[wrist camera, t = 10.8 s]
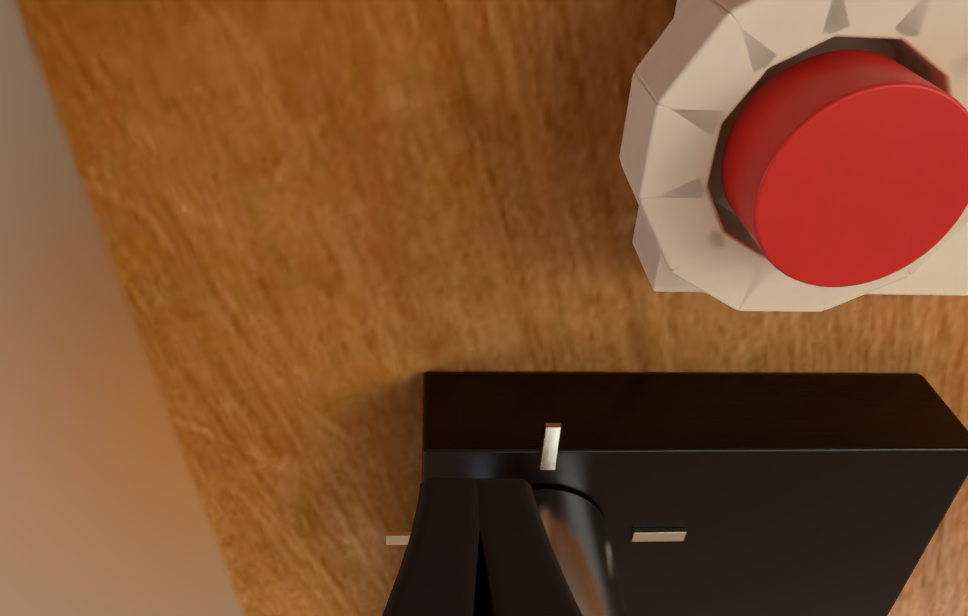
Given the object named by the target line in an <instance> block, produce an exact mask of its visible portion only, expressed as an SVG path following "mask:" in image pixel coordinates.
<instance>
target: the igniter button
mask: <svg viewBox="0 0 968 616" xmlns="http://www.w3.org/2000/svg"><path fill="white" fill-rule="evenodd" d="M721 174H722V183H723V188H724V192H725V195H726V198H727V200H728V202H729V204H730V206H731V208H732V209H733V211H734V212H735V214H736V215H737V217H738V218H739V220H740V221H741V222H742V224H743V225H744V227H745V228H746V230H747V231H748V232H749V234H750V235H751V237H752V238H753V240H754V241H755V242H756V244H757V245H758V247H759V248H760V250H761V251H762V252H763V254H764V255H765V257H766V258H767V260H768V261H769V262H770V263H771V264H772V265H773V266H774V267H775V268H776V269H778V270H779V271H780V272H782V273H783V274H785V275H787V276H788V277H790V278H792V279H794V280H797V281H800V282H803V283H806V284H810V285H815V286H820V287H848V286H854V285H860V284H864V283H868V282H872V281H875V280H878V279H880V278H883V277H886V276H888V275H890V274H892V273H895V272H897V271H899V270H901V269H902V268H904V267H906V266H908V265H909V264H911V263H913V262H914V261H916V260H917V259H918V258H920V257H921V256H923V255H924V254H925V253H927V252H928V251H929V250H930V249H931V248H933V247H934V246H935V245H936V244H937V243H938V242H939V241H940V240H941V239H942V238H943V237H944V236H945V235H946V234H947V233H948V232H949V231H950V229H951V228H952V227H953V226H954V224H955V223H956V222H957V221H958V219H959V218H960V216H961V214H962V213H963V211H964V210H965V208H966V206H967V204H968V111H967V110H966V108H965V107H964V106H963V105H962V104H961V103H960V102H959V101H958V100H957V99H955V98H954V97H952V96H951V95H949V94H948V93H946V92H945V91H943V90H942V89H940V88H938V87H937V86H935V85H933V84H932V83H930V82H929V81H927V80H925V79H924V78H922V77H920V76H919V75H917V74H916V73H914V72H912V71H911V70H909V69H907V68H906V67H904V66H903V65H901V64H899V63H898V62H896V61H894V60H893V59H891V58H888V57H886V56H884V55H882V54H878V53H875V52H871V51H865V50H856V49H853V50H837V51H831V52H826V53H822V54H819V55H815V56H812V57H809V58H807V59H804V60H802V61H800V62H797V63H796V64H794V65H792V66H790V67H788V68H786V69H785V70H783V71H782V72H780V73H779V74H777V75H776V76H774V77H773V78H772V79H770V80H769V81H768V82H767V83H766V84H765V85H764V86H762V87H761V88H760V89H759V90H758V91H757V92H756V93H755V94H754V96H753V97H752V98H751V99H750V100H749V101H748V103H747V104H746V105H745V107H744V108H743V109H742V110H741V112H740V114H739V115H738V117H737V119H736V120H735V122H734V124H733V126H732V128H731V131H730V133H729V135H728V138H727V141H726V144H725V148H724V152H723V158H722V172H721Z"/></svg>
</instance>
